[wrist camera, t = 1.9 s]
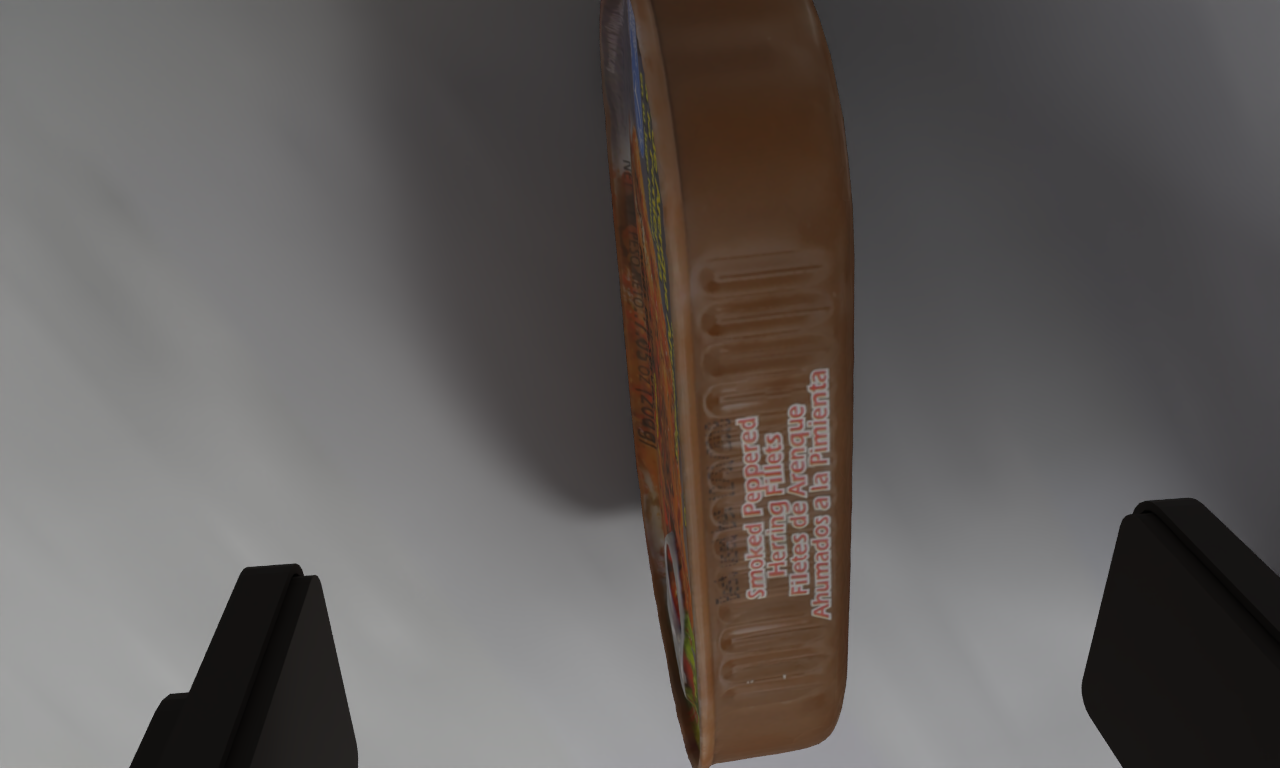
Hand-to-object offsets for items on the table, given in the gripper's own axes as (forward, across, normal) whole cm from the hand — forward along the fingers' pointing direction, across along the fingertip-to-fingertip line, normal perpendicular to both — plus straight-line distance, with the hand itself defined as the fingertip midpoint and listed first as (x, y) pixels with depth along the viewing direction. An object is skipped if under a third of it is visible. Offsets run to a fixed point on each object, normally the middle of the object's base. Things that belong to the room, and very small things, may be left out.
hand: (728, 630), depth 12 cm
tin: (+11, -1, 0) cm, 11 cm away
